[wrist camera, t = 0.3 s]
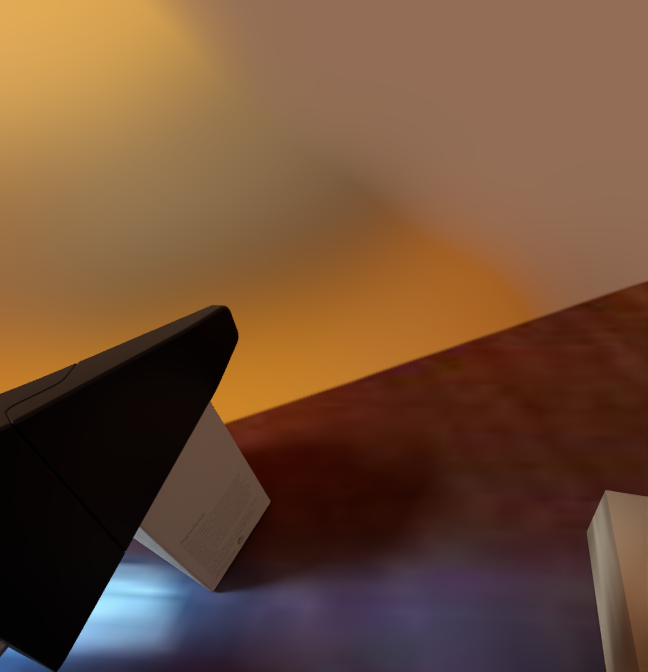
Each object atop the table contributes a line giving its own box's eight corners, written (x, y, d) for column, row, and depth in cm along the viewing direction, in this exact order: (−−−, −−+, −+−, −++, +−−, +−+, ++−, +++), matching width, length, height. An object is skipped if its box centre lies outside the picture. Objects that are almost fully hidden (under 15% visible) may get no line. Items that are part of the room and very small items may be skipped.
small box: (273, 503, 24) (207, 386, 18) (213, 597, 21) (103, 495, 15) (184, 459, 28) (103, 349, 22) (122, 532, 25) (3, 429, 19)
